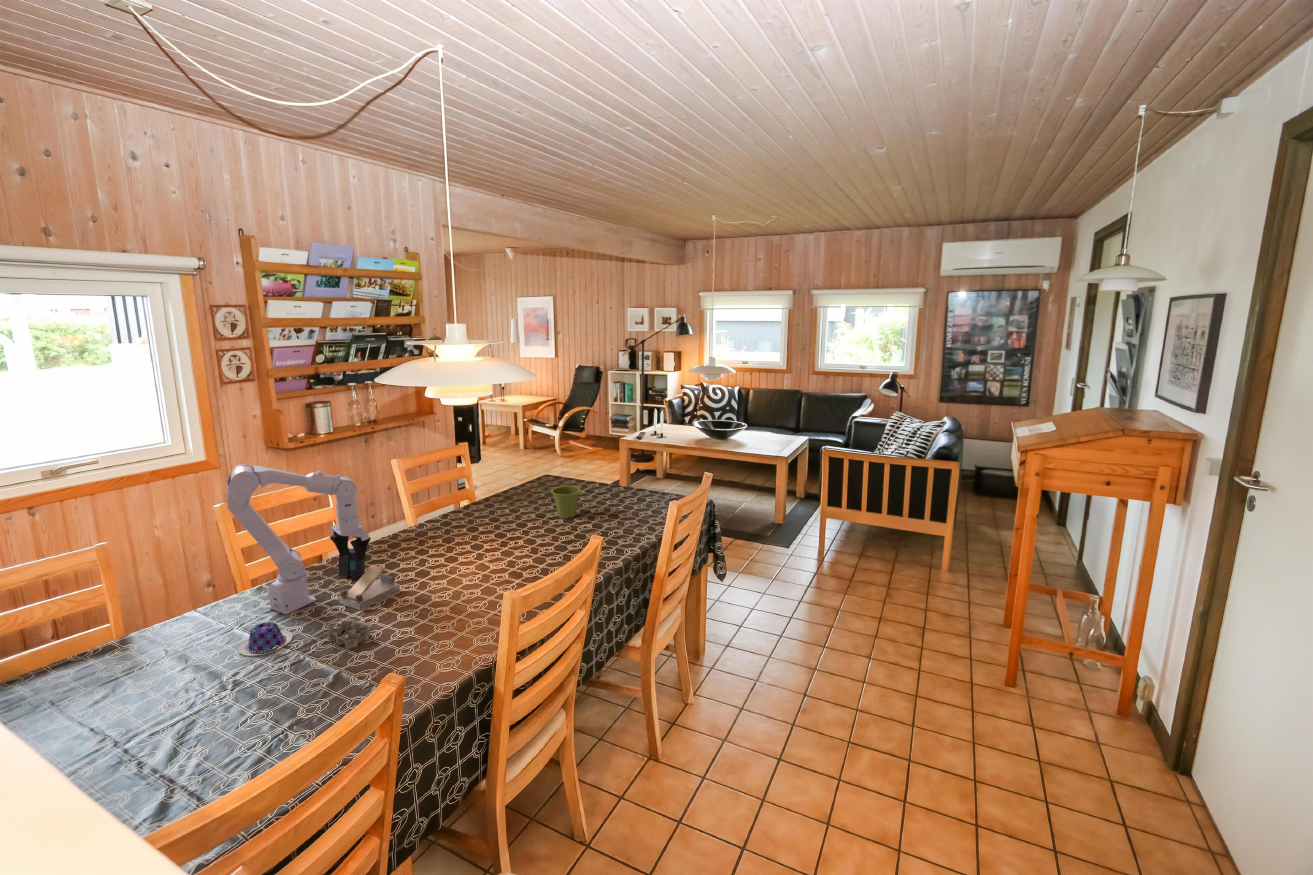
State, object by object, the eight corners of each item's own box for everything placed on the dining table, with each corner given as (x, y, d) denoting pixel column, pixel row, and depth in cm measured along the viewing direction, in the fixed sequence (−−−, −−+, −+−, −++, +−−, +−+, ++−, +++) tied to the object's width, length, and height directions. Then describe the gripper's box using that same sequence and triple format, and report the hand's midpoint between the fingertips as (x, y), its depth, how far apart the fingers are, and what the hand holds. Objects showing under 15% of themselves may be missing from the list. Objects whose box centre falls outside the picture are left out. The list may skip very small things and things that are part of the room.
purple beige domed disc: (245, 637, 162) (242, 620, 161) (296, 629, 166) (293, 611, 165) (233, 662, 151) (230, 643, 150) (288, 652, 155) (285, 633, 154)
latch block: (360, 610, 176) (358, 597, 175) (339, 603, 180) (338, 591, 179) (399, 590, 188) (398, 578, 187) (379, 584, 192) (378, 572, 191)
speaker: (340, 581, 193) (340, 549, 192) (338, 575, 198) (338, 544, 196) (366, 577, 197) (366, 546, 196) (363, 571, 202) (363, 541, 201)
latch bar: (357, 600, 177) (356, 599, 176) (346, 596, 179) (344, 595, 179) (384, 569, 184) (383, 567, 184) (373, 566, 186) (371, 564, 186)
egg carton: (324, 640, 161) (322, 626, 160) (350, 627, 167) (349, 613, 166) (348, 651, 155) (346, 637, 155) (374, 637, 162) (373, 623, 161)
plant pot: (553, 511, 257) (552, 486, 255) (581, 510, 258) (580, 485, 256) (551, 521, 246) (550, 495, 243) (580, 520, 247) (580, 494, 244)
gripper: (375, 515, 184) (379, 557, 187) (343, 508, 190) (348, 548, 193) (355, 523, 178) (359, 566, 181) (322, 515, 184) (327, 557, 187)
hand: (352, 557), depth 187 cm, fingers open, 7 cm apart
